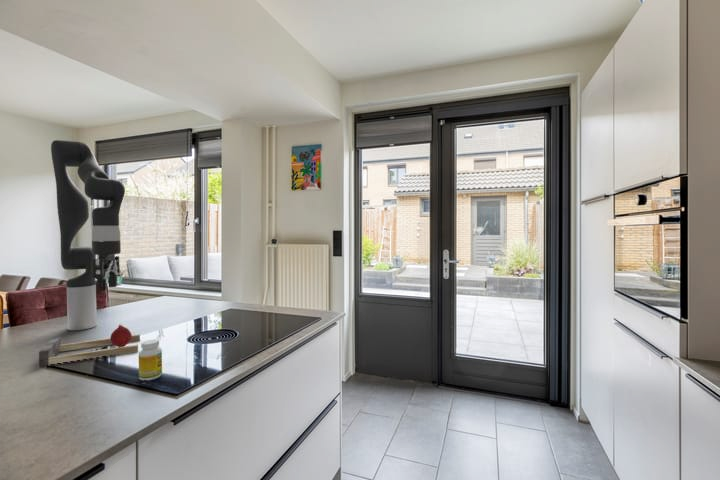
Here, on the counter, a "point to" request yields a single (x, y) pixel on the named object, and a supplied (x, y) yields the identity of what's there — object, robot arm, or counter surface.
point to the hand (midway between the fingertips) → (107, 289)
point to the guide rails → (54, 347)
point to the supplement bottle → (150, 360)
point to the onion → (120, 336)
